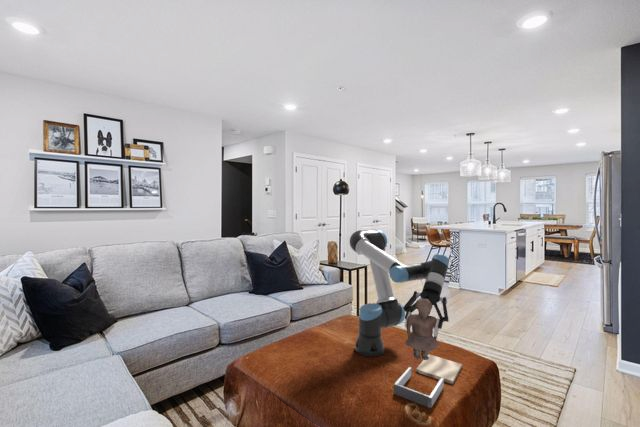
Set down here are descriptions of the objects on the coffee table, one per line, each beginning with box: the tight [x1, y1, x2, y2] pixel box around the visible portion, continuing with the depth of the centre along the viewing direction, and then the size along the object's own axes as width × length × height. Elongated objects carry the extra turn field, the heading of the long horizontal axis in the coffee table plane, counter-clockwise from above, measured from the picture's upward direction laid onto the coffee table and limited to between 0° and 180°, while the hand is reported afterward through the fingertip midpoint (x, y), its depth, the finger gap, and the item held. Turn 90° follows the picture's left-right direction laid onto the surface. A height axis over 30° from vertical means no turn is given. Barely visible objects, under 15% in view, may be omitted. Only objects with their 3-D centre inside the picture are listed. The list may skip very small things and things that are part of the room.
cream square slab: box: [415, 353, 463, 385], centre depth 149 cm, size 16×18×2 cm
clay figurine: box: [405, 297, 440, 361], centre depth 131 cm, size 13×10×25 cm
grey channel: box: [393, 366, 445, 409], centre depth 132 cm, size 15×17×4 cm
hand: (420, 331), depth 129 cm, fingers closed on clay figurine, 11 cm apart
